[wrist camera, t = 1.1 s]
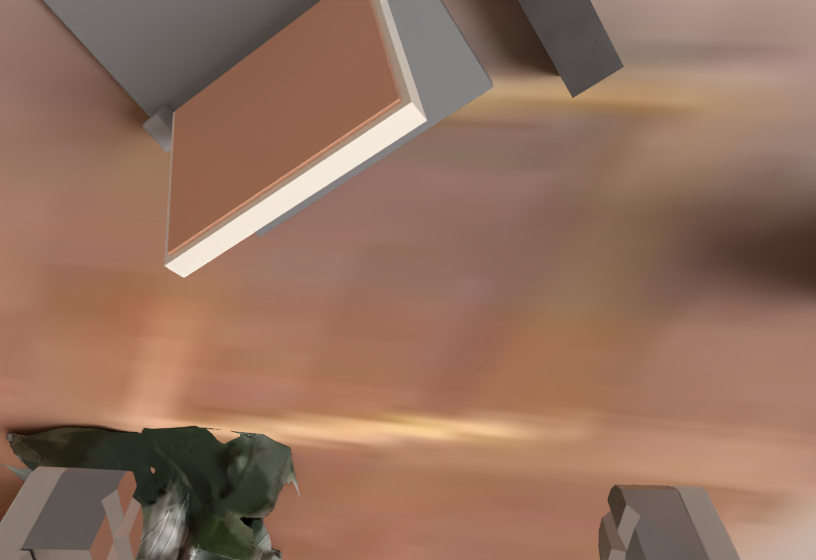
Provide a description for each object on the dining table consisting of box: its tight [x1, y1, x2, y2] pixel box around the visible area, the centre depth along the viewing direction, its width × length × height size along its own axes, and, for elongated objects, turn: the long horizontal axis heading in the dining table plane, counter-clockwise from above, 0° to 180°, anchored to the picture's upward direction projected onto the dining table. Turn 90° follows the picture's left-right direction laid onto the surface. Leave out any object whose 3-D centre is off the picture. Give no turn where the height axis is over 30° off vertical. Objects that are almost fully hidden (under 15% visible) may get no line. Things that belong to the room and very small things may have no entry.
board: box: [43, 0, 493, 237], centre depth 38 cm, size 18×22×3 cm
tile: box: [164, 0, 427, 278], centre depth 34 cm, size 12×14×1 cm
